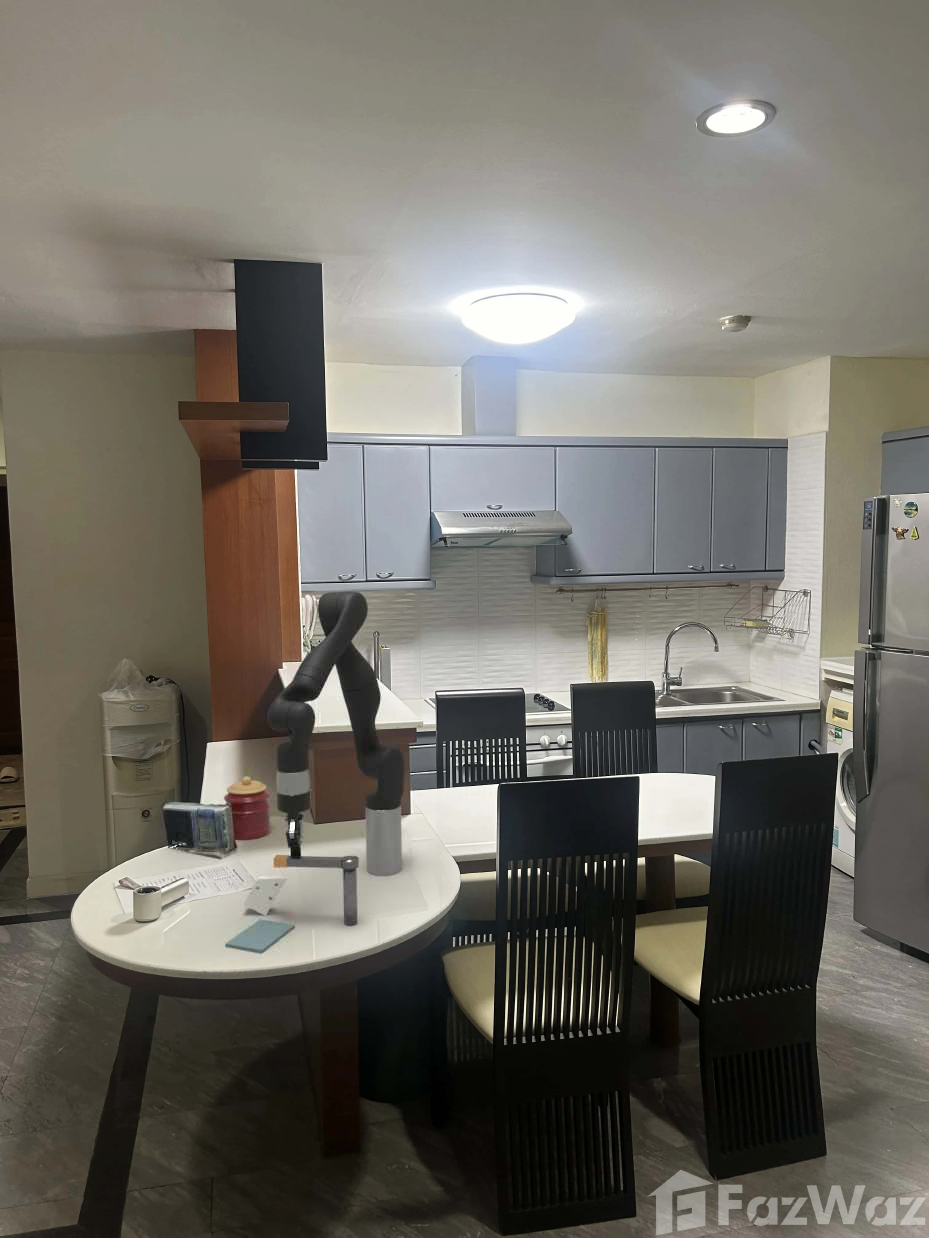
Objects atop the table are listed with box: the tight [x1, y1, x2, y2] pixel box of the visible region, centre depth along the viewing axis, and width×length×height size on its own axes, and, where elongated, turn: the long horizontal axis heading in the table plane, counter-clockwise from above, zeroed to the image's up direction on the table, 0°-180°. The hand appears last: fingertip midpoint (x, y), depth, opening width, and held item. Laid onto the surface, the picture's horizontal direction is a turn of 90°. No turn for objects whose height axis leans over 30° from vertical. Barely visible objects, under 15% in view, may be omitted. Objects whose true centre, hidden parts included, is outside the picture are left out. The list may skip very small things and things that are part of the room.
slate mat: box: [224, 918, 296, 955], centre depth 191 cm, size 13×9×1 cm
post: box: [342, 868, 358, 927], centre depth 198 cm, size 3×3×13 cm
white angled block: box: [243, 875, 289, 916], centre depth 204 cm, size 4×10×9 cm, turn 92°
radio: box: [162, 801, 238, 860], centre depth 245 cm, size 23×8×14 cm, turn 58°
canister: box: [223, 775, 271, 841], centre depth 258 cm, size 13×13×18 cm
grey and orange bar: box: [273, 854, 360, 870], centre depth 198 cm, size 19×4×2 cm, turn 85°
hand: (296, 861), depth 201 cm, fingers closed
